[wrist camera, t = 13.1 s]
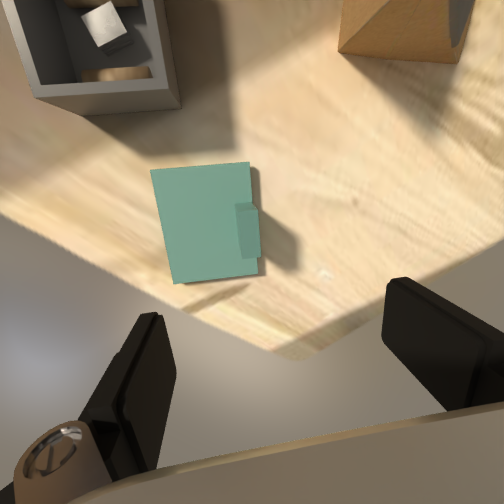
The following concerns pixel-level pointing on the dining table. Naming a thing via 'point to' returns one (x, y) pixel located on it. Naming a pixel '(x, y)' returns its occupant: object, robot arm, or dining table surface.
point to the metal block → (107, 29)
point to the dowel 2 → (116, 74)
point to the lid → (208, 221)
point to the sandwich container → (405, 29)
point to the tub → (93, 57)
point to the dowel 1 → (99, 3)
